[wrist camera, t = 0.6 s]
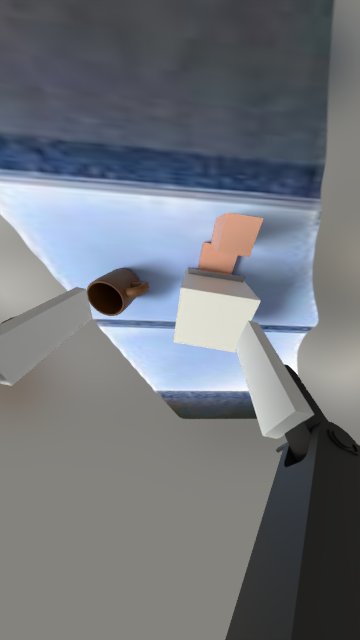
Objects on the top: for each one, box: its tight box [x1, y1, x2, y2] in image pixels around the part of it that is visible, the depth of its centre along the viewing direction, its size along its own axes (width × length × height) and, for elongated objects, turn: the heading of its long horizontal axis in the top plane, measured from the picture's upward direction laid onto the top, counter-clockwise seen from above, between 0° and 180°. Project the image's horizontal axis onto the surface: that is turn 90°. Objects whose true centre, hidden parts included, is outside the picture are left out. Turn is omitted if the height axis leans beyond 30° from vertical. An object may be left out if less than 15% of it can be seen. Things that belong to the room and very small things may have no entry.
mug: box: [87, 268, 150, 316], centre depth 30 cm, size 12×8×9 cm, turn 104°
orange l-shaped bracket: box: [198, 213, 264, 275], centre depth 26 cm, size 18×7×12 cm, turn 173°
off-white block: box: [173, 268, 261, 353], centre depth 29 cm, size 12×12×12 cm
